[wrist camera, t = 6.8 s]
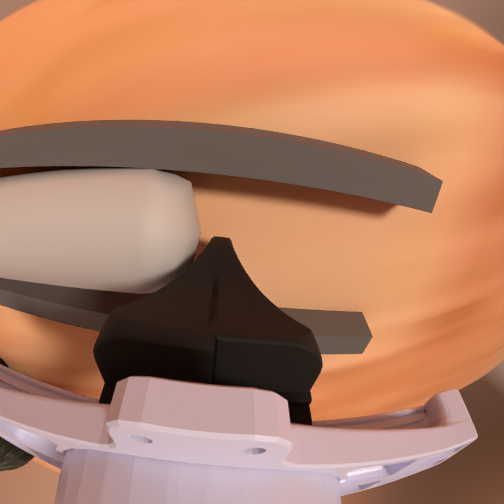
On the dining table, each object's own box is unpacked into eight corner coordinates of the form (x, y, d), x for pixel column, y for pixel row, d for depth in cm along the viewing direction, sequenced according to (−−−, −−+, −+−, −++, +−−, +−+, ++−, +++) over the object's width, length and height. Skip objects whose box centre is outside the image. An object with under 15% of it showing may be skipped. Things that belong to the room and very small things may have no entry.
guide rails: (353, 329, 17) (362, 353, 15) (1, 282, 14) (-13, 300, 13) (419, 167, 12) (442, 181, 10) (-30, 137, 9) (-53, 147, 7)
